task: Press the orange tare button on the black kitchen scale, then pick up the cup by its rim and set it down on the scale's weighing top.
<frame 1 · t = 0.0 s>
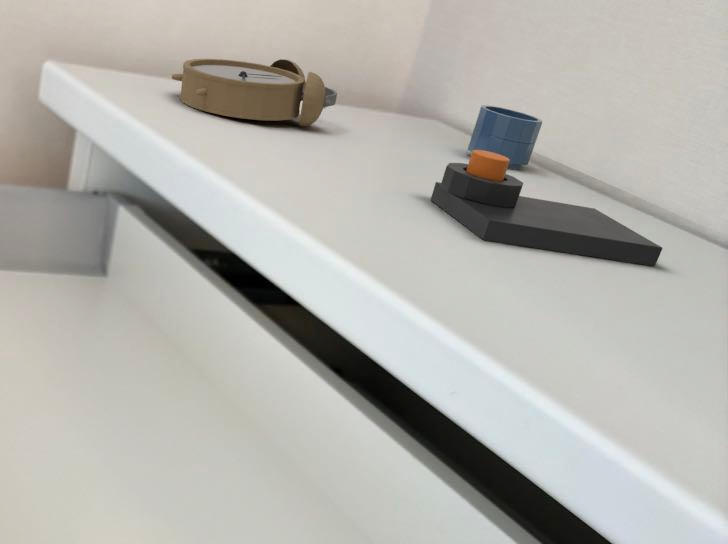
cup: (495, 161, 106), on the table
tare button: (487, 166, 81), point 4 cm above the table, slide at 0.1 cm
scale: (539, 232, 82), on the table
alarm clock: (254, 115, 103), on the table
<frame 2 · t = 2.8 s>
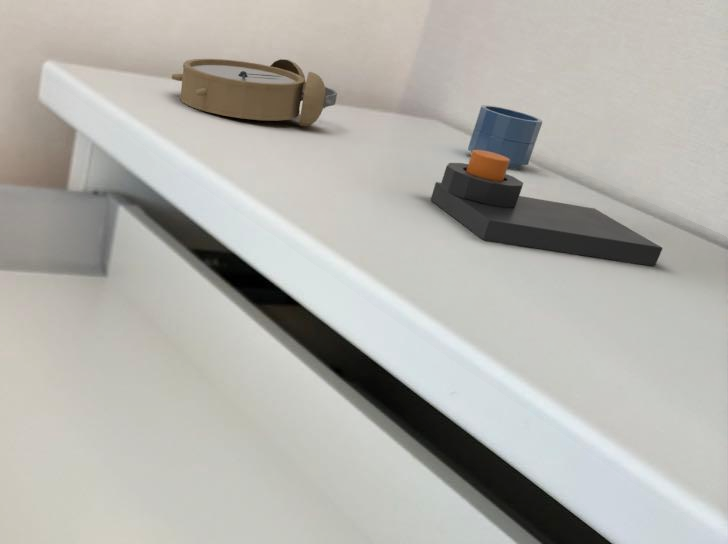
nothing on the table moved.
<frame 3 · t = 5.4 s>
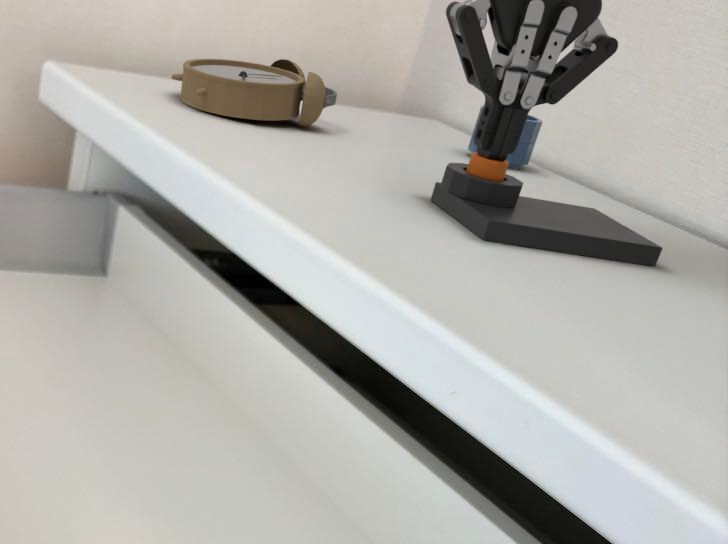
hand: (490, 157, 80), 4 cm above the table, tool pointing down, fingers closed
tare button: (486, 169, 81), point 3 cm above the table, slide at 0.0 cm, touching gripper
everything else where it was.
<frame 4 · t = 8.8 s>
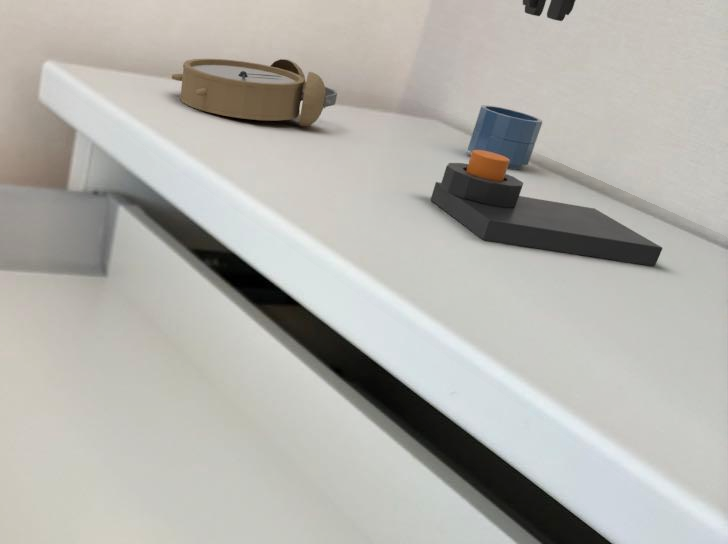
hand: (543, 16, 100), 13 cm above the table, tool pointing down, fingers closed
tare button: (487, 167, 81), point 4 cm above the table, slide at 0.1 cm
everything else where it was.
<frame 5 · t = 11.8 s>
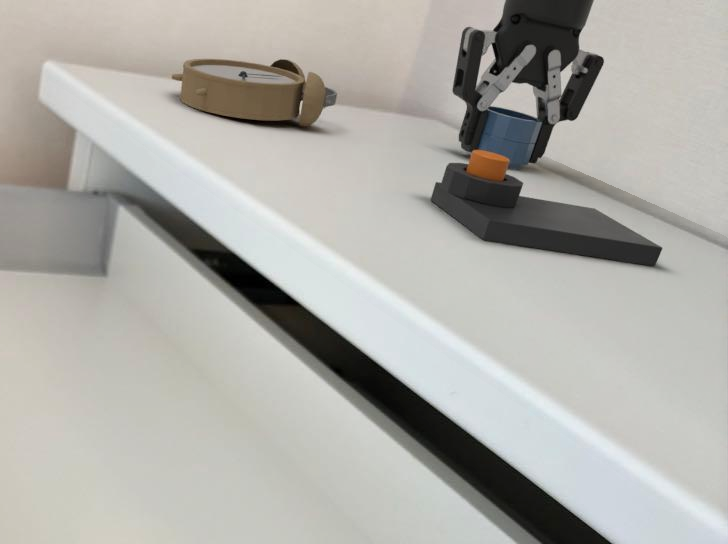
hand: (498, 155, 106), 1 cm above the table, tool pointing down, fingers closed on cup, 6 cm apart
cup: (495, 161, 106), on the table, touching gripper
everything else where it was.
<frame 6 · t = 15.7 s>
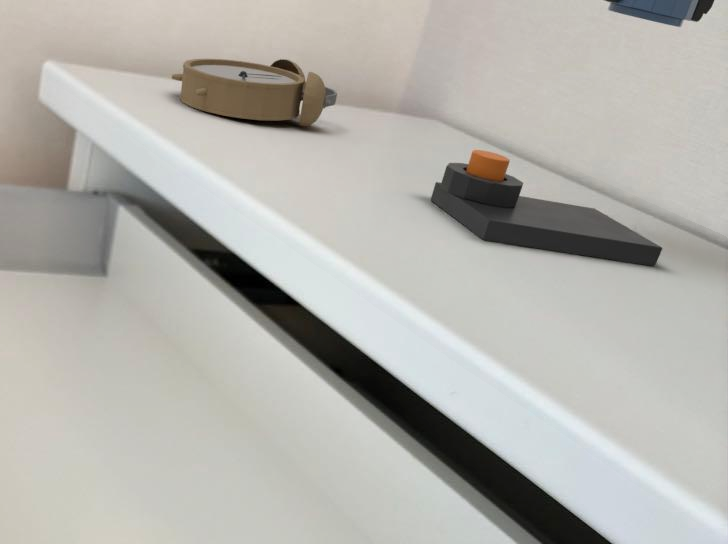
hand: (648, 9, 77), 16 cm above the table, tool pointing down, fingers closed on cup, 6 cm apart
cup: (644, 18, 77), point 15 cm above the table, touching gripper
everything else where it was.
when the fingers open (2 cm above the table, at t = 19.5 s): cup stays where it is, resting on scale.
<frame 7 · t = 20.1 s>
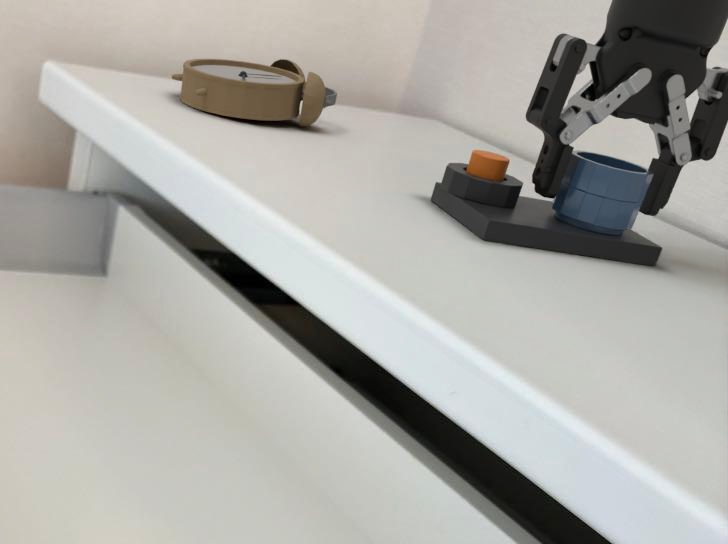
hand: (595, 204, 80), 3 cm above the table, tool pointing down, fingers open, 8 cm apart
cup: (588, 223, 81), point 1 cm above the table, touching scale
everything else where it was.
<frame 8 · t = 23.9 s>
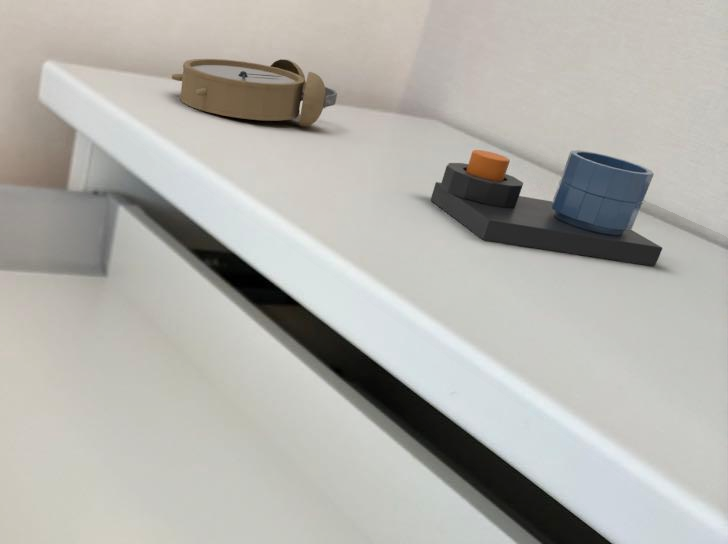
nothing on the table moved.
at the end: tare button pushed in 0.9 cm at the most during the clip, back to where it started at the end; cup inside the target area on the scale (3.2 cm from its centre), point 1.4 cm above the scale's base; cup touching scale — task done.
